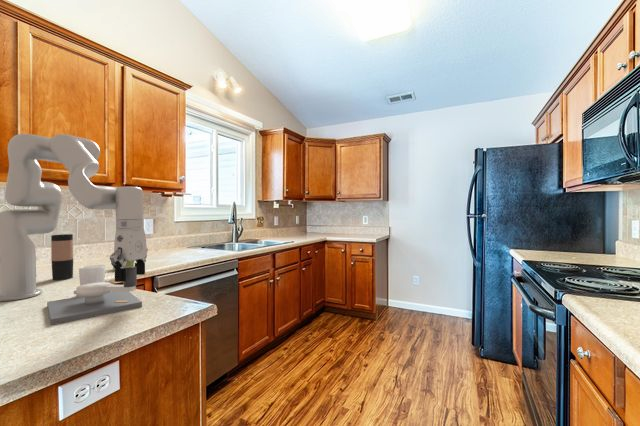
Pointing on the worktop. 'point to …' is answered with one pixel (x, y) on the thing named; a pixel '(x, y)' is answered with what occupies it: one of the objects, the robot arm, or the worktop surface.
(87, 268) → the white cup
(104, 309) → the post base
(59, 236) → the travel mug
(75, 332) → the worktop surface
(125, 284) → the lever handle
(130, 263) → the plant pot
